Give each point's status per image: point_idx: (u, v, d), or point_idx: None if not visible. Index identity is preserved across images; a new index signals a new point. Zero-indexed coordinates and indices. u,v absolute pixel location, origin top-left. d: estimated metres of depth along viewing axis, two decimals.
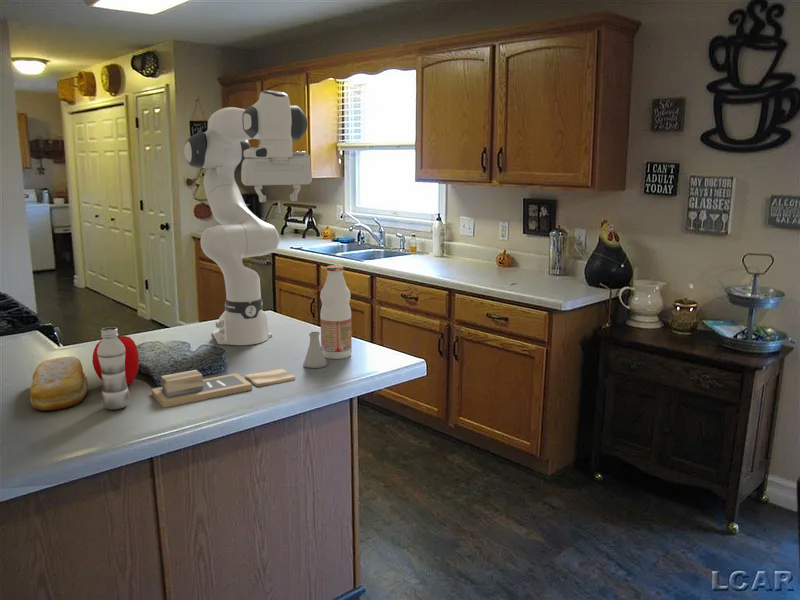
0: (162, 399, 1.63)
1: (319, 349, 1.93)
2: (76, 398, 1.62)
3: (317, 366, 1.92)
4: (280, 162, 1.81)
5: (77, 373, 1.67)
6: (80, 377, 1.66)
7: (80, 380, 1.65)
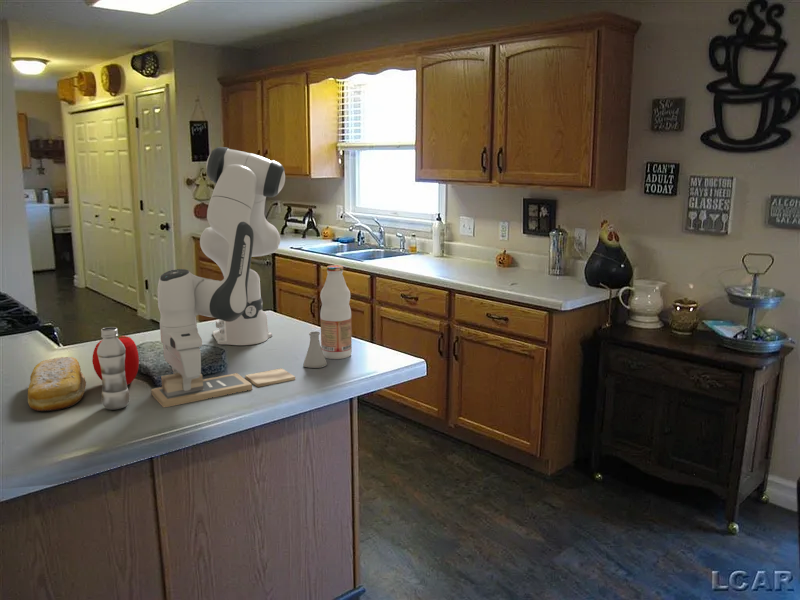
0: (162, 399, 1.63)
1: (319, 349, 1.93)
2: (74, 399, 1.62)
3: (317, 366, 1.92)
4: None
5: (75, 373, 1.67)
6: (78, 377, 1.66)
7: (78, 380, 1.65)
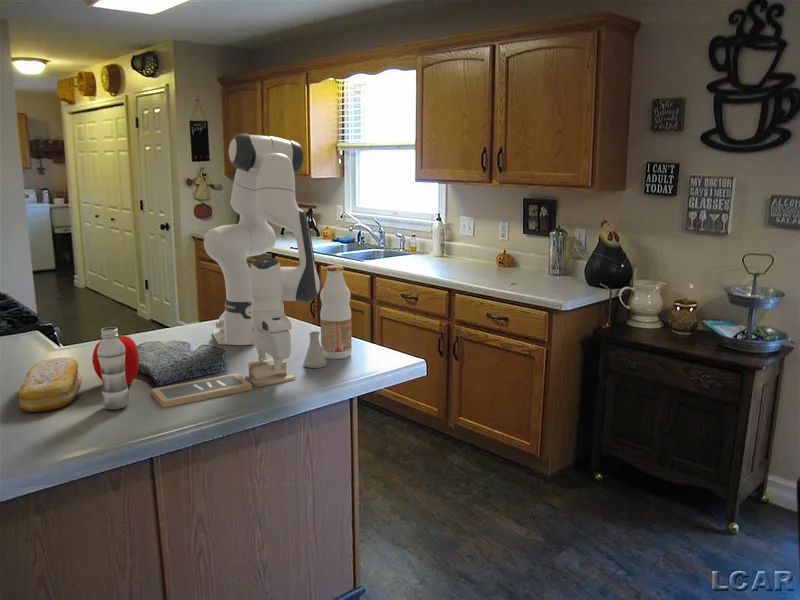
0: (162, 399, 1.63)
1: (319, 349, 1.93)
2: (64, 401, 1.61)
3: (317, 366, 1.92)
4: None
5: (68, 375, 1.66)
6: (70, 379, 1.65)
7: (69, 382, 1.64)
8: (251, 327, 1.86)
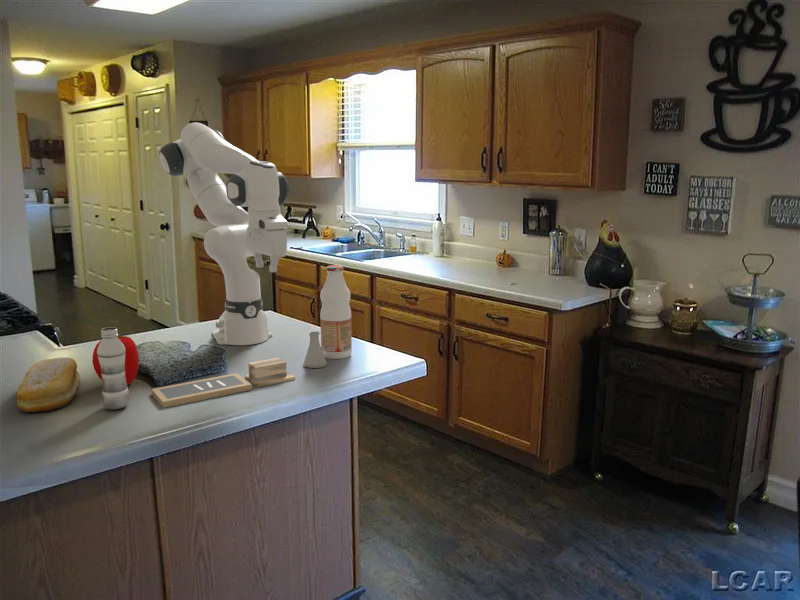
0: (162, 399, 1.63)
1: (319, 349, 1.93)
2: (62, 401, 1.60)
3: (317, 366, 1.92)
4: None
5: (66, 375, 1.66)
6: (68, 379, 1.65)
7: (67, 382, 1.63)
8: (248, 232, 1.89)
